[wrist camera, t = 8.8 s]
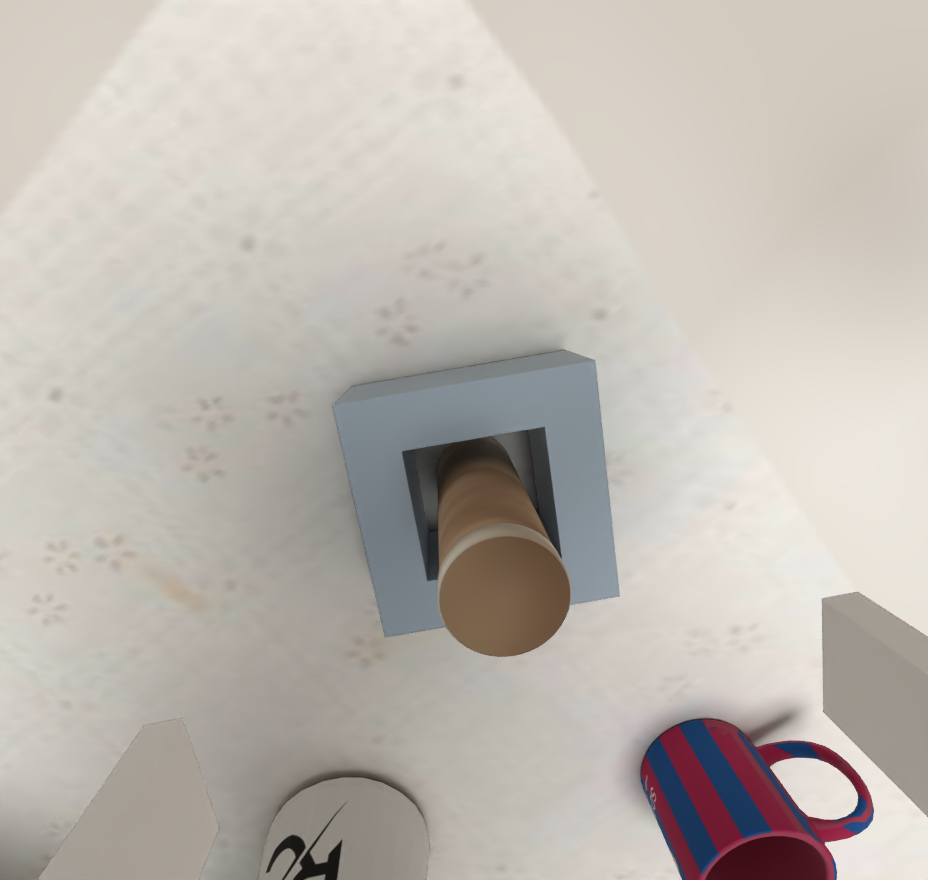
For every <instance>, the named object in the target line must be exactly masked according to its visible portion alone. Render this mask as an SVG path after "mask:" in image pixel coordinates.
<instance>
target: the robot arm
mask: <svg viewBox="0 0 928 880" xmlns="http://www.w3.org/2000/svg"><path fill="white" fill-rule="evenodd" d="M822 651H823V712H824V713H825V714H826V715H827V716H828V717H829V718H830V719H831V720H832V721H833V722H834V723H835V724H836V725H837V726H838V727H839V728H840V729H841V730H842V731H843V732H844V733H845V734H846V735H847V736H848V737H849V738H850V739H851V740H852V741H853V742H854V743H855V744H856V745H857V746H858V747H859V748H860V749H861V750H862V751H863V752H864V753H865V754H866V755H867V756H868V757H869V758H870V759H871V760H872V761H873V762H874V763H875V764H876V765H877V766H878V767H879V768H880V769H881V770H882V771H883V772H884V773H885V774H886V775H887V776H888V777H889V778H890V779H891V780H892V781H893V782H894V783H895V784H896V785H897V786H898V787H899V788H900V789H901V790H902V791H903V792H904V793H905V794H906V795H907V796H908V797H909V798H910V799H911V801H912V802H913V803H914V804H915V805H916V806H917V807H918V808H919V809H920V810H921V811H922V812H923V813H924V814H925V815H926V816H927V817H928V636H926V635H924V634H923V633H921V632H920V631H918V630H917V629H915V628H914V627H912V626H910V625H909V624H907V623H906V622H904V621H902V620H901V619H900V618H898V617H896V616H895V615H893V614H892V613H890V612H889V611H887V610H886V609H884V608H882V607H881V606H879V605H877V604H876V603H875V602H873V601H871V600H870V599H869V598H867V597H865V596H864V595H862V594H861V593H859V592H854V593H848V594H843V595H838V596H832V597H827V598H822ZM218 831H219V825H218V822H217V819H216V816H215V813H214V810H213V807H212V804H211V801H210V798H209V795H208V792H207V789H206V786H205V783H204V780H203V777H202V774H201V771H200V768H199V765H198V762H197V759H196V756H195V753H194V750H193V747H192V745H191V742H190V739H189V736H188V733H187V730H186V727H185V724H184V721H183V718H180V719H174V720H169V721H163V722H158V723H153V724H147V725H144V726H143V727H142V729H141V730H140V732H139V733H138V735H137V736H136V738H135V739H134V740H133V742H132V743H131V745H130V746H129V748H128V749H127V751H126V752H125V753H124V755H123V756H122V758H121V759H120V761H119V762H118V764H117V765H116V767H115V768H114V769H113V771H112V772H111V774H110V775H109V777H108V778H107V780H106V781H105V782H104V784H103V785H102V787H101V788H100V790H99V791H98V793H97V794H96V796H95V797H94V798H93V800H92V801H91V803H90V804H89V806H88V807H87V809H86V810H85V811H84V813H83V814H82V816H81V817H80V819H79V820H78V822H77V823H76V825H75V826H74V827H73V829H72V830H71V832H70V833H69V835H68V836H67V838H66V839H65V840H64V842H63V843H62V845H61V846H60V848H59V849H58V851H57V852H56V854H55V855H54V856H53V858H52V859H51V861H50V862H49V864H48V865H47V867H46V868H45V869H44V871H43V872H42V874H41V875H40V877H39V878H38V880H199V878H200V875H201V873H202V870H203V868H204V865H205V863H206V861H207V858H208V856H209V853H210V851H211V848H212V846H213V843H214V841H215V838H216V836H217V833H218Z"/></svg>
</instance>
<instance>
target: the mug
mask: <svg viewBox="0 0 928 880" xmlns="http://www.w3.org/2000/svg"><path fill="white" fill-rule="evenodd" d="M429 848H430V842H429V836H428V832H427V828H426V824H425V820H424V818H423V817H422V815H421V814H420V812H419V810H418V809H417V807H416V805H414V804H413V803H412V802H411V801H410V800H409V799H408V798H407V797H405V796H404V795H403V794H402V793H401V792H399V791H398V790H396V789H394V788H392V787H390V786H388V785H386V784H384V783H382V782H379V781H375V780H371V779H367V778H359V777H341V778H336V779H331V780H326V781H322V782H320V783H318V784H315V785H313V786H311V787H308V788H306V789H304V790H301V791H300V792H299V793H298V794H296V795H295V796H294V797H292V798H291V799H290V800H289V801H287V802H286V803H285V805H284V806H283V807H282V809H281V810H280V811H279V813H278V814H277V815H276V817H275V818H274V820H273V822H272V824H271V827H270V830H269V833H268V836H267V839H266V842H265V846H264V851H263V855H262V860H261V866H260V871H259V877H258V880H427V870H428V860H429Z"/></svg>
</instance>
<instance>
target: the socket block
mask: <svg viewBox="0 0 928 880" xmlns="http://www.w3.org/2000/svg"><path fill="white" fill-rule="evenodd" d="M332 406H333V411H334V415H335V420H336V424H337V428H338V433H339V437H340V442H341V446H342V450H343V455H344V459H345V464H346V468H347V473H348V477H349V481H350V486H351V490H352V495H353V499H354V503H355V508H356V512H357V517H358V521H359V525H360V530H361V534H362V539H363V543H364V547H365V552H366V556H367V561H368V565H369V570H370V574H371V578H372V583H373V587H374V592H375V596H376V600H377V605H378V609H379V614H380V618H381V622H382V627H383V631H384V636H385V637H390V636H396V635H402V634H407V633H413V632H419V631H425V630H430V629H436V628H442V627H446V626H445V625H444V623H443V620H442V618H441V616H440V612H439V608H438V574H439V534H438V531H433V532H429V531H428V526H427V520H426V515H425V510H424V505H423V500H422V495H421V489H420V484H419V479H418V474H417V469H416V464H415V459H414V453H413V449H418V448H424V447H430V446H436V445H441V444H447V443H453V442H459V441H465V440H471V439H476V438H482V437H488V436H494V435H500V434H506V433H511V432H517V431H523V430H528V434H529V441H530V448H531V456H532V463H533V470H534V477H535V484H536V492H537V499H538V506H539V513H537V515H538V517H539V519H540V521H541V523H542V525H543V527H544V529H545V531H546V533H547V535H548V537H549V539H550V541H551V543H552V545H553V546H554V548H555V549H556V550H557V552H558V554H559V556H560V558H561V560H562V562H563V564H564V566H565V568H566V570H567V572H568V575H569V578H570V583H571V602H570V605H573V604H579V603H585V602H590V601H596V600H602V599H607V598H613V597H619V596H620V595H619V586H618V576H617V566H616V557H615V547H614V537H613V528H612V518H611V509H610V499H609V489H608V480H607V470H606V460H605V451H604V441H603V431H602V422H601V412H600V402H599V393H598V383H597V373H596V364H595V360H592V359H589V358H586V357H583V356H581V355H578V354H575V353H572V352H569V351H566V350H562V351H556V352H550V353H544V354H538V355H532V356H526V357H520V358H515V359H509V360H503V361H497V362H491V363H485V364H479V365H473V366H468V367H462V368H456V369H450V370H444V371H438V372H432V373H426V374H421V375H415V376H409V377H403V378H397V379H391V380H385V381H379V382H374V383H368V384H362V385H356V386H352V387H351V388H350V389H349V390H348V391H347V392H345V393H344V394H343V395H342V396H341V397H340V398H339V399H338V400H337V401H336V402H335V403H334V404H333V405H332Z"/></svg>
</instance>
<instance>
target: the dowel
mask: <svg viewBox="0 0 928 880" xmlns="http://www.w3.org/2000/svg"><path fill="white" fill-rule="evenodd" d="M438 534H439V574H438V608H439V612H440V616H441V618H442V620H443V623H444V625H445V626H446V628H447V629H448V631H449V632H450V633H451V634H452V636H453V637H454V638H455V639H457V640H458V641H459V642H460V643H462V644H463V645H464V646H466V647H467V648H469V649H471V650H473V651H476V652H478V653H481V654H485V655H489V656H497V657H506V656H515V655H519V654H523V653H526V652H529V651H531V650H533V649H535V648H537V647H539V646H540V645H542V644H543V643H545V642H546V641H547V640H549V639H550V638H551V637H552V636H553V635H554V634H555V633H556V632H557V630H558V629H559V628H560V626H561V625H562V623H563V621H564V619H565V617H566V615H567V613H568V610H569V606H570V602H571V583H570V578H569V575H568V572H567V570H566V568H565V566H564V564H563V562H562V560H561V558H560V556H559V554H558V552H557V550H556V549H555V548H554V546H553V545H552V543H551V541H550V539H549V537H548V535H547V533H546V531H545V529H544V527H543V525H542V523H541V521H540V519H539V517H538V515H537V513H536V511H535V509H534V507H533V504H532V502H531V500H530V498H529V496H528V494H527V492H526V490H525V488H524V486H523V484H522V482H521V480H520V478H519V476H518V474H517V472H516V470H515V468H514V466H513V464H512V462H511V459H510V457H509V455H508V453H507V452H506V450H505V449H504V447H503V446H502V445H501V444H500V443H498V442H497V441H496V440H494V439H492V438H490V437H482V438H476V439H471V440H465V441H459V442H453V443H451V444H449V445H448V446H447V447H446V449H445V450H444V451H443V453H442V455H441V457H440V460H439V463H438Z"/></svg>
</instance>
